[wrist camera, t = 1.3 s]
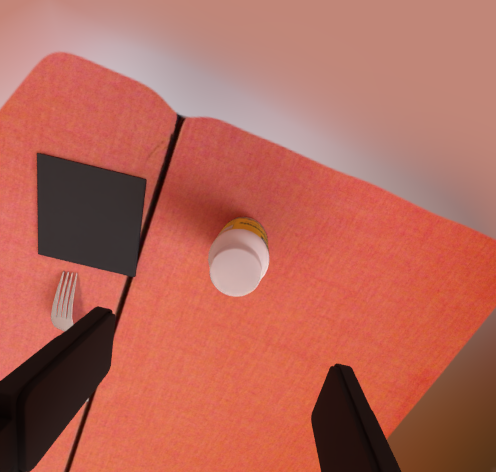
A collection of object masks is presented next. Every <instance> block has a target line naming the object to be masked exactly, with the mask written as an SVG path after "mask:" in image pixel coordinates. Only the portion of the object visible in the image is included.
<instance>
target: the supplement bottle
mask: <svg viewBox="0 0 496 472" xmlns="http://www.w3.org/2000/svg"><path fill="white" fill-rule="evenodd" d="M208 262H209V267H210V278H211V281H212V283H213V284H214V286H215V287H216V288H217V289H218V290H219V291H220V292H222V293H224V294H226V295H229V296H244V295H247V294H249V293H250V292H252V291H253V290H254V289H255V288H256V287H257V286H258V284H259V282H260V280H261V279H262V278H263V276H264V275H265V273H266V271H267V269H268V266H269V249H268V239H267V234H266V231H265V229H264V228H263V226H262V225H261V224H260V223H259V222H258V221H256V220H254V219H252V218H249V217H238V218H235V219H233V220H231V221H229V222H228V223H227V224H226V225H225V226H224V227H223V229H222V230H221V232H220V233H219V235H218V236H217V238H216V239H215V240H214V242H213V243H212V245H211V248H210V250H209V255H208Z"/></svg>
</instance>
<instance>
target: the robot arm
mask: <svg viewBox="0 0 496 472" xmlns="http://www.w3.org/2000/svg"><path fill="white" fill-rule="evenodd" d="M114 327H115V314H112V310H111V309H106V308H102V307H95V308H94V309H93V310H91V311H90V312H89V313H88V314H86V315H85V316H84V317H83V318H81V319H80V320H79V321H78V322H76V323H75V324H74V325H73V326H71V327H70V328H69V329H68V330H66V331H65V332H64V333H63V334H61V335H59V336H57V337H56V338H54V339H53V340H52V341H51V342H49V343H48V344H47V345H45V346H44V347H43V348H42V349H40V350H39V351H38V352H37V353H35V354H34V355H33V356H32V357H30V358H29V359H28V360H26V361H25V362H24V363H23V364H21V365H20V366H19V367H18V368H16V369H15V370H14V371H13V372H11V373H10V374H9V375H8V376H6V377H5V378H4V379H2V380H1V381H0V472H30V471H31V470H32V469H33V468H34V467H35V466H36V465H37V464H38V462H39V461H40V460H41V458H42V457H43V456H44V455H45V453H46V452H47V451H48V449H49V448H50V447H51V446H52V444H53V443H54V442H55V440H56V439H57V438H58V437H59V435H60V434H61V433H62V431H63V430H64V429H65V428H66V426H67V425H68V424H69V422H70V421H71V420H72V418H73V417H74V416H75V415H76V413H77V412H78V411H79V409H80V408H81V407H82V406H83V404H84V403H85V402H86V400H87V399H88V398H89V397H90V395H91V394H92V393H93V391H94V390H95V389H96V388H97V386H98V385H99V384H100V382H101V381H102V380H103V379H104V377H105V376H106V375H107V373H108V371H109V369H110V366H111V358H112V347H113V337H114ZM311 422H312V428H313V433H314V438H315V443H316V448H317V453H318V458H319V463H320V468H321V472H401V470H400V468H399V466H398V463H397V461H396V459H395V457H394V455H393V453H392V451H391V449H390V447H389V444H388V442H387V440H386V438H385V436H384V434H383V432H382V429H381V427H380V425H379V423H378V421H377V419H376V417H375V415H374V413H373V411H372V410H371V408H370V406H369V404H368V402H367V399H366V397H365V395H364V393H363V391H362V389H361V387H360V384H359V382H358V380H357V378H356V376H355V374H354V372H353V369H352V368H351V367H350V366H346V365H341V364H335V366H331V367H330V369H329V372H328V374H327V377H326V379H325V382H324V384H323V387H322V389H321V392H320V394H319V397H318V399H317V402H316V404H315V407H314V409H313V412H312V416H311Z"/></svg>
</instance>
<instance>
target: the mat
mask: <svg viewBox="0 0 496 472" xmlns="http://www.w3.org/2000/svg"><path fill="white" fill-rule="evenodd" d="M145 187H146V179H143V178H139V177H135V176H131V175H127V174H123V173H119V172H115V171H110V170H106V169H102V168H98V167H94V166H90V165H86V164H82V163H78V162H74V161H69V160H65V159H61V158H57V157H53V156H49V155H45V154H41V153H37V190H38V254H40V255H44V256H48V257H52V258H56V259H60V260H65V261H69V262H73V263H77V264H81V265H85V266H90V267H94V268H98V269H102V270H106V271H110V272H115V273H119V274H123V275H127V276H131V277H135V276H136V267H137V258H138V249H139V240H140V231H141V222H142V214H143V205H144V196H145Z"/></svg>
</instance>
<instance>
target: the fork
mask: <svg viewBox="0 0 496 472" xmlns="http://www.w3.org/2000/svg"><path fill="white" fill-rule="evenodd" d="M64 272H65V271H63V274H62V276H61V279H60V282H59V285H58V288H57V291H56V295H55V298H54V302H53V307H52V313H51V321H52V323H53V325H54V326H55V327H56V328H58V329H60V330H63V331H66V330H68V329H69V328H70V327H71V326H73V325H74V324H73V320H72V308H73V300H74V292H75V286H76V279H77V273H76V276H75V280H74V283H73V287H72V291H71V296H70V300H69V305H68V312H67V303H68V297H69V291H70V286H71V281H72V276H73V272H72V273H71V277H70V280H69V284H68V287H67V291H66V296H65V300H64V305H63V312H62V304H63V298H64V293H65V288H66V284H67V279H68V275H69V272H68V273H67V276H66V279H65V282H64V286H63V289H62V293H61V297H60V301H59V305H58V312H57V304H58V299H59V294H60V288H61V284H62V280H63V276H64ZM56 313H57V316H56ZM61 313H62V317H61ZM66 313H67V318H66ZM88 400H89V399H87V400H86V402H87V401H88Z"/></svg>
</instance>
